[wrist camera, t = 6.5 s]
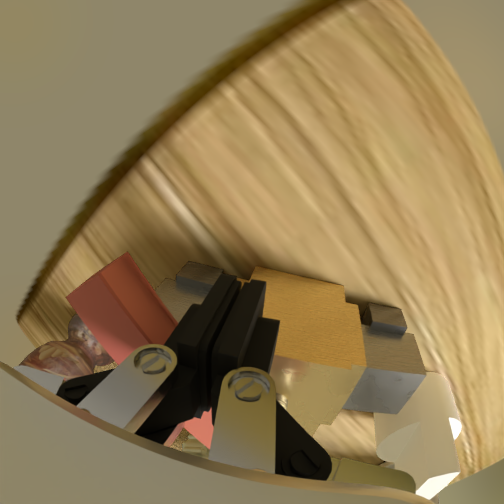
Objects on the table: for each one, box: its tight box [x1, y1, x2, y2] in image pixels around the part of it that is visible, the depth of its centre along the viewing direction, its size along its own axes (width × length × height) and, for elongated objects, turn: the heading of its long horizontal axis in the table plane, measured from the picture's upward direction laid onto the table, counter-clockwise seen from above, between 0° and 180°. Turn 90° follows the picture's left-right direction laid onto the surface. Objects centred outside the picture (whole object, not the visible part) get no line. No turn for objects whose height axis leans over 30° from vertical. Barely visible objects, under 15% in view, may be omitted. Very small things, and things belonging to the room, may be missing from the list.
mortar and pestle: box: [19, 314, 114, 381], centre depth 23 cm, size 12×9×20 cm
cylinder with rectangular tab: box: [373, 372, 462, 500], centre depth 21 cm, size 9×9×12 cm
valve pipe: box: [155, 261, 427, 437], centre depth 19 cm, size 20×8×12 cm, turn 81°
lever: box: [66, 252, 214, 449], centre depth 11 cm, size 14×4×2 cm, turn 31°
